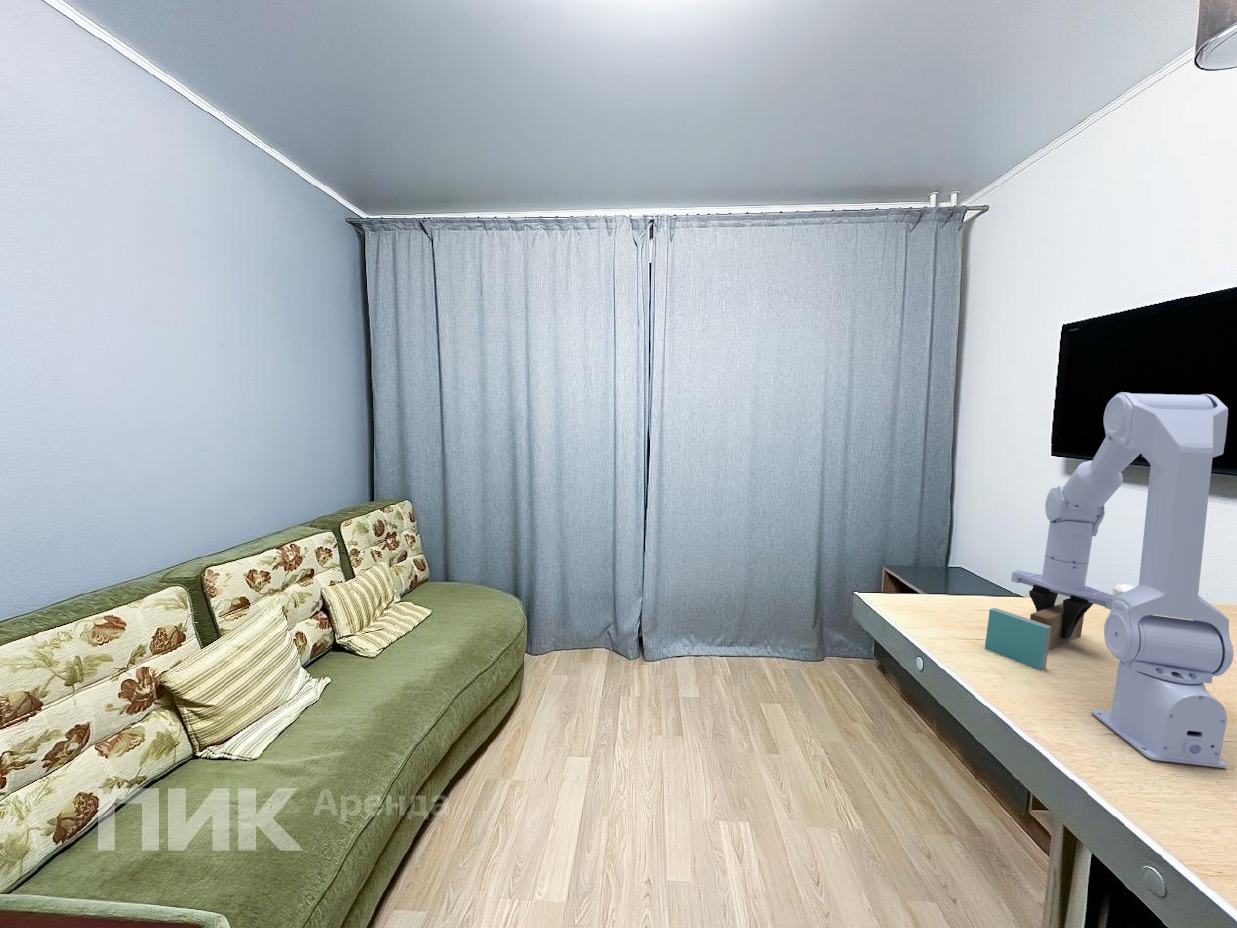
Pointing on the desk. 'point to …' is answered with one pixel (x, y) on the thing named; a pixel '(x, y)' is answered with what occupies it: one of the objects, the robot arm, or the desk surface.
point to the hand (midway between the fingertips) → (1055, 633)
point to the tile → (1018, 638)
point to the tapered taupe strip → (1056, 624)
